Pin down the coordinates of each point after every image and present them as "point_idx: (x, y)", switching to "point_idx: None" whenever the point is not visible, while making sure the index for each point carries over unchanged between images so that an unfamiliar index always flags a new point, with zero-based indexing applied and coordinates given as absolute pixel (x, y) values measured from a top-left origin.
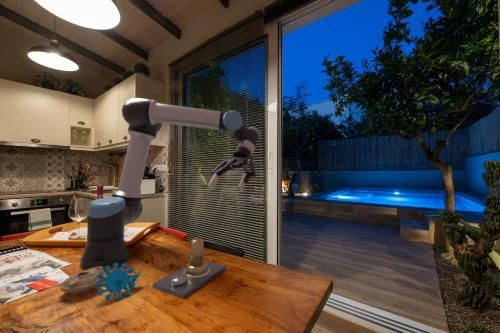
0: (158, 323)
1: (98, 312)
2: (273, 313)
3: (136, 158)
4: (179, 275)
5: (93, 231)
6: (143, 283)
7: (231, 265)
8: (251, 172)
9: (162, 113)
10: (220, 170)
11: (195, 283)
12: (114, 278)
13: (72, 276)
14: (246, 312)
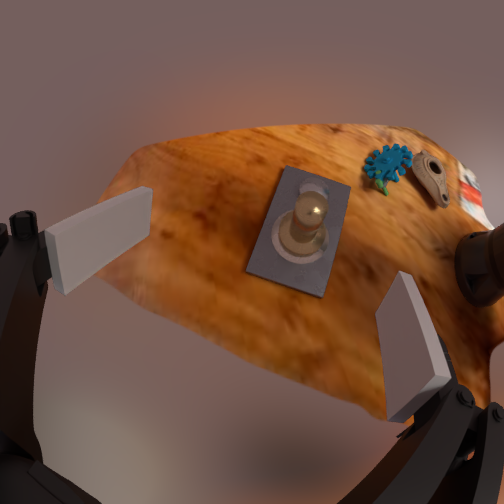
0: (289, 130)
1: (366, 142)
2: (160, 160)
3: None
4: None
5: None
6: (371, 201)
7: (237, 296)
8: (6, 226)
9: None
10: (417, 442)
11: (282, 192)
12: (390, 156)
13: (439, 163)
14: (192, 156)
